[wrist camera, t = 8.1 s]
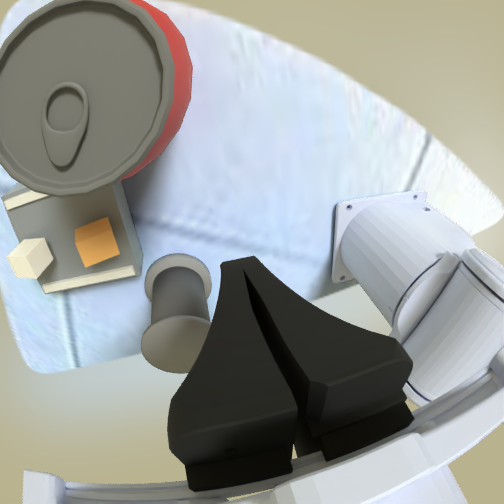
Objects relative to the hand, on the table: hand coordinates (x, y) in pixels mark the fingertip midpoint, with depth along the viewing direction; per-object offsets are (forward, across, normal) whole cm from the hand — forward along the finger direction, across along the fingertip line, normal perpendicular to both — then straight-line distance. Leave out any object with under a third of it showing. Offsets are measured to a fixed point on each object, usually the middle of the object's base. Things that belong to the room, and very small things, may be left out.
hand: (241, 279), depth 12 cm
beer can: (+10, +4, -8) cm, 14 cm away
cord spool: (+10, +4, +7) cm, 13 cm away
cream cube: (+8, +12, 0) cm, 14 cm away
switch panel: (+10, +10, 0) cm, 14 cm away
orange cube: (+8, +8, 0) cm, 11 cm away
